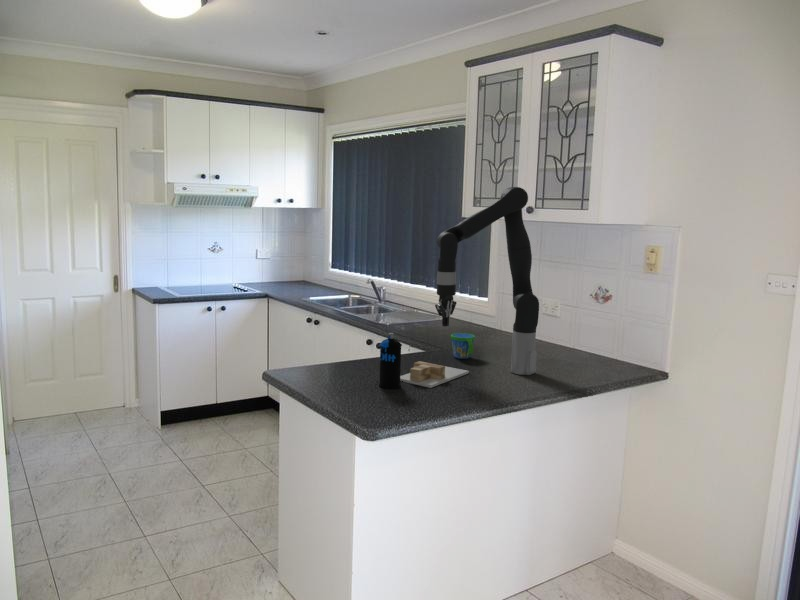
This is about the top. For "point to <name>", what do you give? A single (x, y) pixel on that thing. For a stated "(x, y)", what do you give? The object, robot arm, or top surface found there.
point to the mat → (431, 382)
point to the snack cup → (462, 345)
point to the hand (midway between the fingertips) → (445, 326)
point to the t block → (426, 371)
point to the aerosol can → (390, 362)
